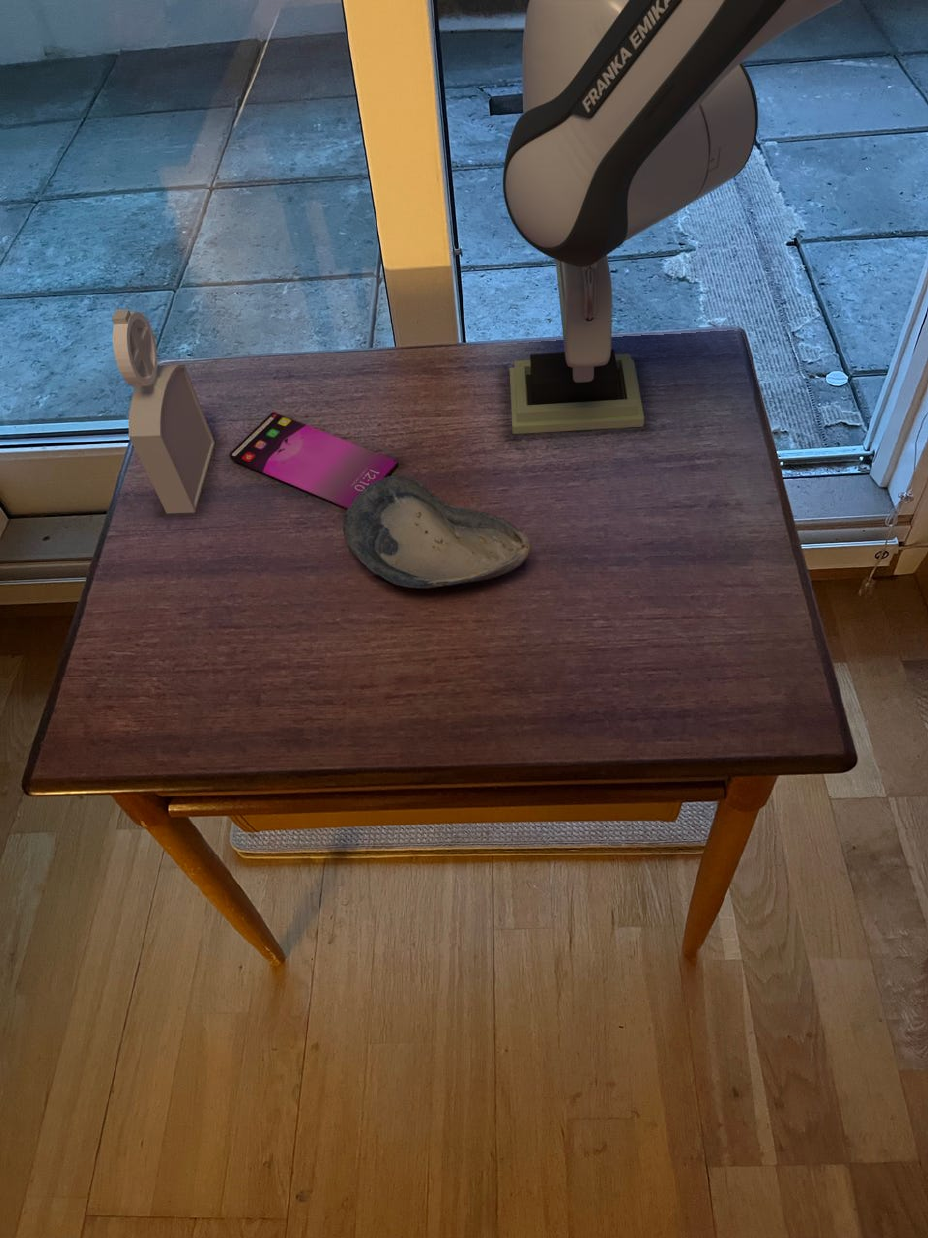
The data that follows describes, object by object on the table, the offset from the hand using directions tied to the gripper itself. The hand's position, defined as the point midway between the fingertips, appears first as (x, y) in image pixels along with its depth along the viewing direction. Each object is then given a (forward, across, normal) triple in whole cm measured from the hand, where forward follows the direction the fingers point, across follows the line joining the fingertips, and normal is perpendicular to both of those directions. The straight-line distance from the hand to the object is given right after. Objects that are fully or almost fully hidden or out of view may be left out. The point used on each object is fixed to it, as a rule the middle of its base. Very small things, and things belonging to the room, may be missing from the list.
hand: (578, 344), depth 85 cm
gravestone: (+6, -8, +37) cm, 39 cm away
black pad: (+5, 0, 0) cm, 5 cm away
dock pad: (+6, 0, 0) cm, 7 cm away
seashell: (+7, -19, +14) cm, 24 cm away
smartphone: (+6, -7, +26) cm, 27 cm away
